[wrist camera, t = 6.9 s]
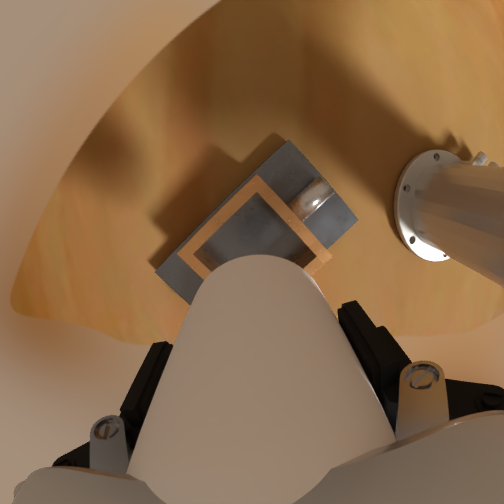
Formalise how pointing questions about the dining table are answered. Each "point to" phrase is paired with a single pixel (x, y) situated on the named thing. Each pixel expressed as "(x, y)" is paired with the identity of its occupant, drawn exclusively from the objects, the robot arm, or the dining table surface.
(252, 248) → the base
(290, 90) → the dining table surface
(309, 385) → the can
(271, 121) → the dining table surface
